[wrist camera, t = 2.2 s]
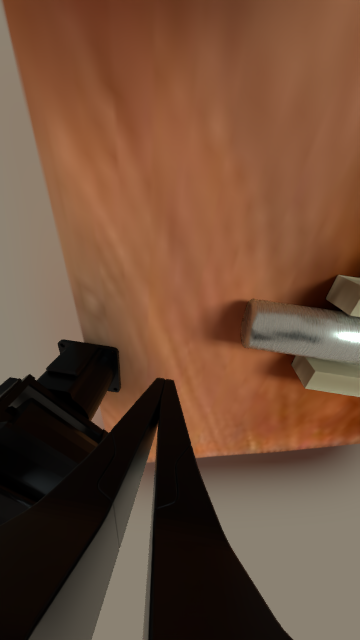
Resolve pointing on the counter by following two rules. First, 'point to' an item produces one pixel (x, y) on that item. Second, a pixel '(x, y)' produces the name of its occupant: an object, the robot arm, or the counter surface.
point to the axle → (301, 331)
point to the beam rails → (326, 374)
